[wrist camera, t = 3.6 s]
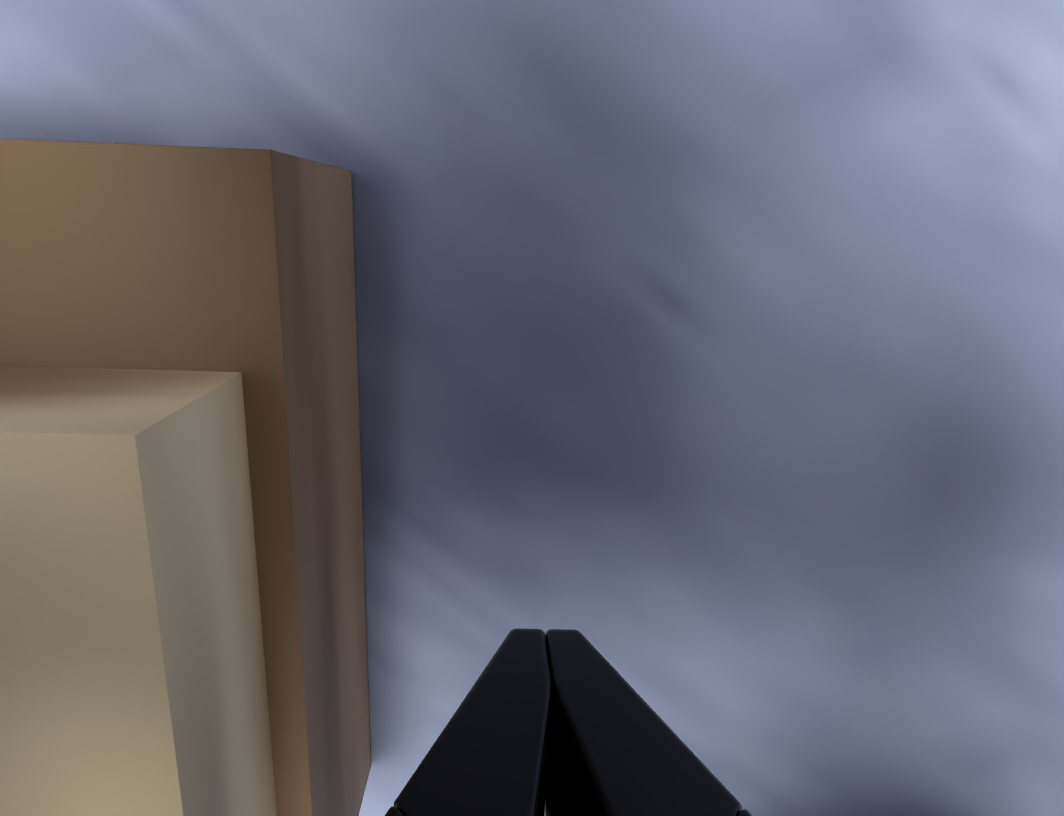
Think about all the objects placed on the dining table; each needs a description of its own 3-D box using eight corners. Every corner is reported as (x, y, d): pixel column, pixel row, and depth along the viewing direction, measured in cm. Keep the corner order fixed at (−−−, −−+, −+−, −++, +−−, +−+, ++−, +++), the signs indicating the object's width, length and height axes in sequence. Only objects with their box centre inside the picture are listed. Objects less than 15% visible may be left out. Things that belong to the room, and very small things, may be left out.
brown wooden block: (351, 171, 11) (269, 150, 7) (370, 765, 15) (321, 963, 11) (-282, 145, 11) (-715, 108, 7) (-116, 762, 14) (-350, 968, 10)
